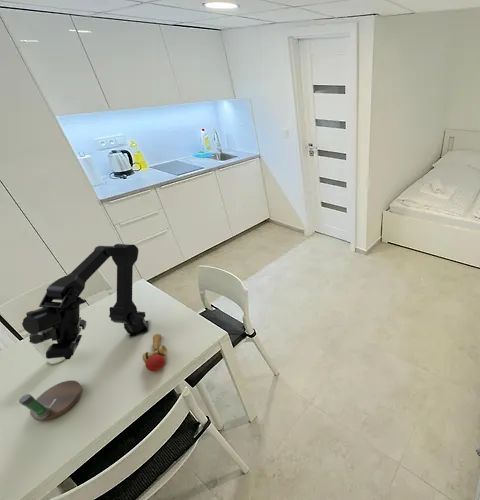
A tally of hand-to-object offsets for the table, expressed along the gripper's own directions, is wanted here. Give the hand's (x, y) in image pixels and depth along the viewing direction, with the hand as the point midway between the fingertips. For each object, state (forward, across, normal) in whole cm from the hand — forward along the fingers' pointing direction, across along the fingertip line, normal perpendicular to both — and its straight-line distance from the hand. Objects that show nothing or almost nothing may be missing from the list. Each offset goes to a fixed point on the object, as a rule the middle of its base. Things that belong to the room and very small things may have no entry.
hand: (68, 358), depth 98 cm
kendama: (+2, +1, +26) cm, 26 cm away
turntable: (+13, +5, -1) cm, 14 cm away
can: (+12, -18, -6) cm, 22 cm away
